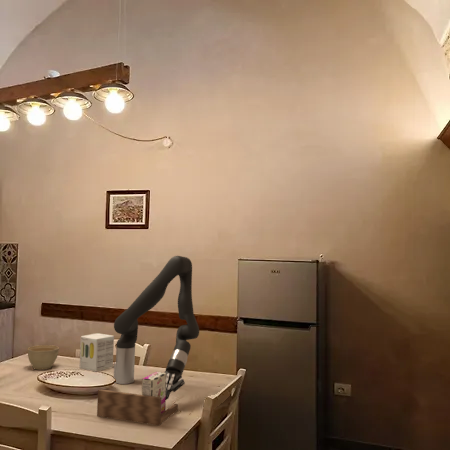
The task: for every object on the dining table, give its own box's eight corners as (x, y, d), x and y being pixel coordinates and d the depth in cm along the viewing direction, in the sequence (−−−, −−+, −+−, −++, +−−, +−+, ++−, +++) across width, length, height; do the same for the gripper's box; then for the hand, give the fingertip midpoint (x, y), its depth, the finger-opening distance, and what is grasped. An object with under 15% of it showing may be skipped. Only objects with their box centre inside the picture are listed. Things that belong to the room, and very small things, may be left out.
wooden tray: (96, 415, 185) (98, 390, 186) (120, 402, 202) (121, 378, 203) (158, 425, 177) (159, 398, 178) (177, 410, 194) (178, 385, 195)
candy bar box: (155, 411, 192) (156, 371, 193) (165, 413, 190) (167, 372, 191) (140, 420, 181) (141, 377, 182) (151, 422, 179) (152, 379, 180)
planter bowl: (51, 372, 247) (52, 351, 248) (21, 371, 247) (22, 350, 248) (62, 364, 263) (63, 345, 264) (34, 363, 263) (35, 344, 264)
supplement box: (78, 368, 257) (79, 336, 258) (96, 363, 268) (97, 332, 269) (95, 372, 250) (96, 339, 251) (113, 367, 261) (114, 335, 262)
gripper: (161, 356, 206) (147, 392, 194) (188, 359, 202) (176, 396, 189) (165, 365, 211) (152, 401, 198) (193, 369, 207) (181, 405, 194)
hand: (164, 399), depth 194 cm, fingers closed
